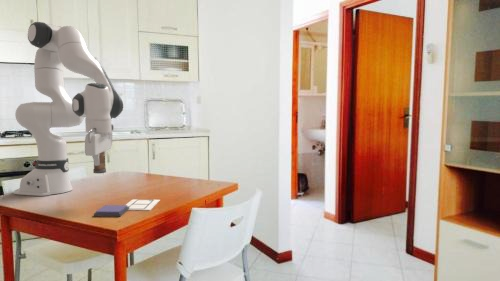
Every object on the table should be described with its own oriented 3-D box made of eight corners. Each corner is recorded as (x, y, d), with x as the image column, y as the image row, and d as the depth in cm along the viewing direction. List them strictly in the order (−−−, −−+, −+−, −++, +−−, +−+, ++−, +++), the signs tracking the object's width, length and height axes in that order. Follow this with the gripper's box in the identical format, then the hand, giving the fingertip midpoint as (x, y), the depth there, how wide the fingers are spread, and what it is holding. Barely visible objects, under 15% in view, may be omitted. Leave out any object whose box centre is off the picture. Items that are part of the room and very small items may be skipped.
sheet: (119, 210, 127) (119, 209, 127) (132, 200, 141) (132, 199, 141) (150, 210, 127) (150, 209, 127) (160, 200, 141) (160, 199, 141)
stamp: (90, 172, 132) (90, 148, 132) (100, 170, 136) (99, 147, 135) (99, 173, 131) (98, 149, 130) (108, 171, 135) (108, 148, 134)
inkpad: (93, 216, 120) (93, 211, 120) (104, 208, 129) (104, 204, 129) (120, 216, 120) (120, 212, 120) (129, 209, 129) (129, 204, 129)
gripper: (98, 129, 122) (99, 169, 123) (114, 125, 142) (115, 159, 143) (79, 129, 121) (80, 169, 123) (98, 125, 141) (99, 159, 143)
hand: (99, 164), depth 133 cm, fingers closed on stamp, 4 cm apart
